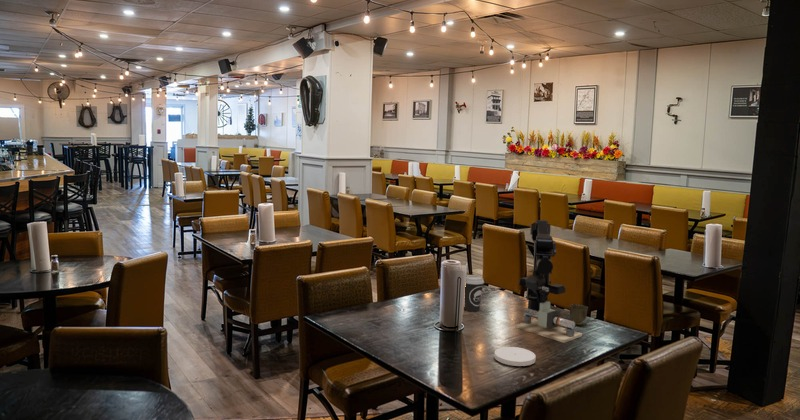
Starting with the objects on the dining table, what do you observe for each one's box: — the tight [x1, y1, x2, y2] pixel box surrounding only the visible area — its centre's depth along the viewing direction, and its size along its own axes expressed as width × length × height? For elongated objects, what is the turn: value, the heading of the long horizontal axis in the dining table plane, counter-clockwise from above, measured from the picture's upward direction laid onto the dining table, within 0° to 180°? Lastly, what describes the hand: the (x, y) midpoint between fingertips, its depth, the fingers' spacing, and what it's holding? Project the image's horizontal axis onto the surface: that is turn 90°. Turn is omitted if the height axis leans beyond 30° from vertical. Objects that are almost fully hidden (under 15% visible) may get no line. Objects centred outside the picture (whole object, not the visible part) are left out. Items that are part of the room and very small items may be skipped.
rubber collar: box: [546, 309, 561, 329], centre depth 229 cm, size 2×6×6 cm, turn 132°
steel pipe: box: [523, 307, 576, 337], centre depth 230 cm, size 22×3×6 cm, turn 42°
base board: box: [514, 318, 583, 344], centre depth 231 cm, size 23×13×1 cm, turn 42°
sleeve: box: [537, 300, 555, 327], centre depth 231 cm, size 4×6×9 cm, turn 132°
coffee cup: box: [464, 274, 485, 313], centre depth 257 cm, size 10×10×15 cm
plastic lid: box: [493, 346, 537, 367], centre depth 199 cm, size 14×14×2 cm
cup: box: [569, 303, 589, 327], centre depth 241 cm, size 8×7×8 cm
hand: (540, 306), depth 233 cm, fingers closed
